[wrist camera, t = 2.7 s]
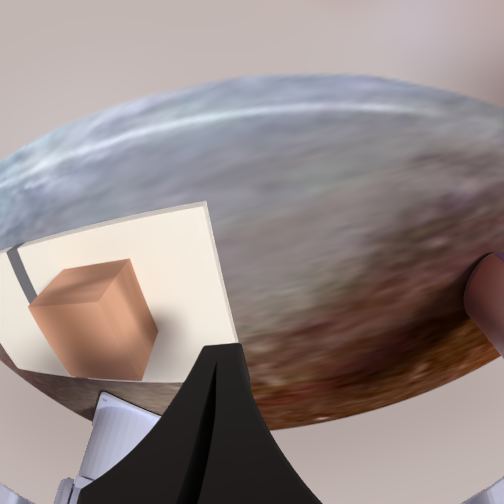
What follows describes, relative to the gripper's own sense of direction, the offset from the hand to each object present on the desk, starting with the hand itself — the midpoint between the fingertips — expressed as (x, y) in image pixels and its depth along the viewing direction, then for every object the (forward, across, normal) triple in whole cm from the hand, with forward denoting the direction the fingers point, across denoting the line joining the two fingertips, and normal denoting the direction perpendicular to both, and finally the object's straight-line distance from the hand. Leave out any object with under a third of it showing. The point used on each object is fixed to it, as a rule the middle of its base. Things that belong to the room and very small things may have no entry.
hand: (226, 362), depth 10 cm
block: (+5, +8, 0) cm, 9 cm away
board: (+6, +13, +2) cm, 14 cm away
